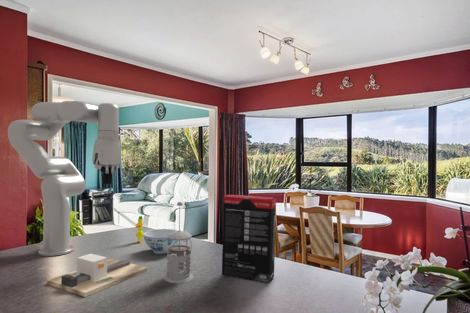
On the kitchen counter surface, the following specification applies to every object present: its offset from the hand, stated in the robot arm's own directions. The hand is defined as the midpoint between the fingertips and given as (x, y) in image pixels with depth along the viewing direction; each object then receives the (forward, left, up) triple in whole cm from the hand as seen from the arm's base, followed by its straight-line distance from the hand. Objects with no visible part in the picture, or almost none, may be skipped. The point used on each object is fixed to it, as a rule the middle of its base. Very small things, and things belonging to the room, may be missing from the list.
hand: (107, 183), depth 122 cm
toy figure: (-7, +24, -29) cm, 39 cm away
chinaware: (+11, +19, -29) cm, 37 cm away
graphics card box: (+55, +12, -29) cm, 64 cm away
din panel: (+13, -13, -29) cm, 34 cm away
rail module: (+13, -16, -28) cm, 35 cm away
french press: (+35, +1, -29) cm, 46 cm away
